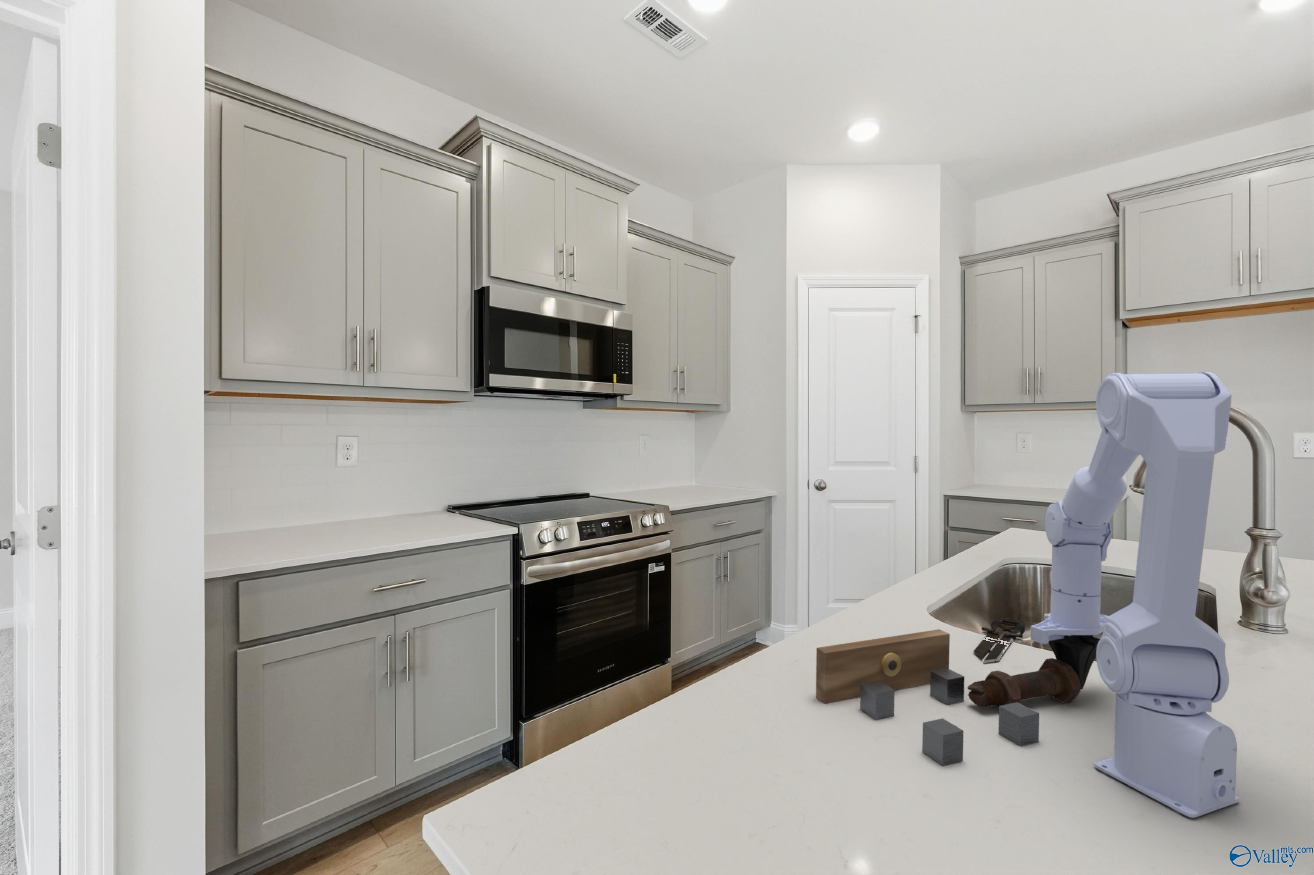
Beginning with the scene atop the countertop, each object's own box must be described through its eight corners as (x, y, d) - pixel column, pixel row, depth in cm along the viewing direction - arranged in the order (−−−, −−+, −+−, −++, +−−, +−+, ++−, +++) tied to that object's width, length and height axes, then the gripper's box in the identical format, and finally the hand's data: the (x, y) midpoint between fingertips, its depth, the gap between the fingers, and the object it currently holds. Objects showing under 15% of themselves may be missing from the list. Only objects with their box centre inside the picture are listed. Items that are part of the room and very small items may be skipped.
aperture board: (952, 681, 90) (953, 635, 89) (827, 705, 82) (828, 654, 82) (938, 674, 92) (939, 629, 92) (815, 697, 85) (816, 647, 84)
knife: (993, 669, 95) (993, 661, 95) (950, 658, 100) (950, 650, 100) (1036, 630, 113) (1036, 622, 113) (998, 622, 118) (998, 615, 118)
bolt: (970, 720, 82) (1058, 703, 86) (996, 717, 77) (1088, 699, 81) (954, 674, 84) (1041, 660, 88) (978, 669, 80) (1068, 654, 84)
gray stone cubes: (1038, 741, 73) (1039, 713, 73) (942, 765, 68) (943, 735, 68) (946, 692, 86) (947, 668, 86) (860, 709, 81) (860, 683, 81)
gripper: (1082, 579, 91) (1080, 668, 91) (1011, 588, 86) (1009, 682, 86) (1133, 591, 84) (1130, 688, 85) (1059, 602, 79) (1057, 704, 80)
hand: (1072, 686), depth 85 cm, fingers closed
